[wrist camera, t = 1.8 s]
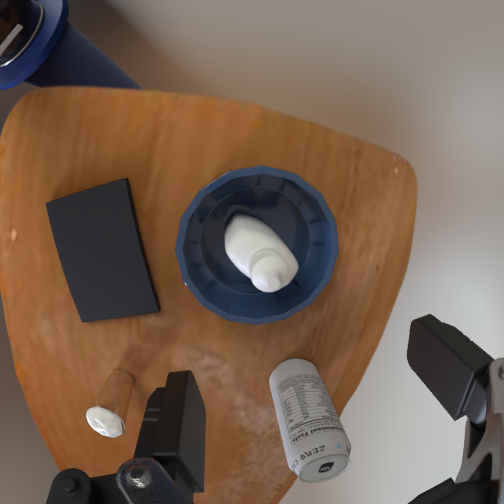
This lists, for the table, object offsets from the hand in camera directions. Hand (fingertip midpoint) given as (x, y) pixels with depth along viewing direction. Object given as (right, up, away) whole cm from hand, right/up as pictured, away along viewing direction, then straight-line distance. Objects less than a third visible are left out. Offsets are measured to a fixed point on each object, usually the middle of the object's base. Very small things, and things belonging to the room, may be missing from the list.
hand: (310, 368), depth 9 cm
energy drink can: (+3, -11, +25) cm, 27 cm away
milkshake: (-18, -12, +23) cm, 32 cm away
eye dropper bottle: (-2, +5, +19) cm, 20 cm away
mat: (-18, +4, +18) cm, 26 cm away
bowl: (-2, +6, +19) cm, 20 cm away
